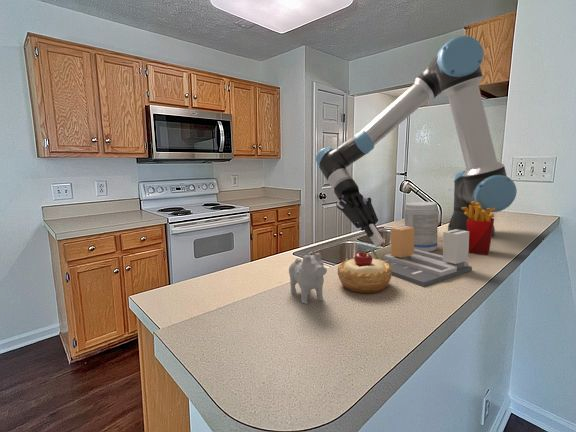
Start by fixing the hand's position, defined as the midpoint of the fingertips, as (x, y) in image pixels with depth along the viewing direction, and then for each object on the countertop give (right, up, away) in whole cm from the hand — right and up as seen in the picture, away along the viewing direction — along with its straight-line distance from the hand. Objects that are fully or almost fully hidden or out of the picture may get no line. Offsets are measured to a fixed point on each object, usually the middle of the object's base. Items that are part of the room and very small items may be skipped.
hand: (380, 244), depth 95 cm
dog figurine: (-23, -9, -25) cm, 35 cm away
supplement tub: (+15, -2, +7) cm, 17 cm away
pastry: (-9, -8, -20) cm, 24 cm away
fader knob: (+4, -4, -6) cm, 9 cm away
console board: (+7, -5, -11) cm, 14 cm away
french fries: (+29, -3, +1) cm, 29 cm away
